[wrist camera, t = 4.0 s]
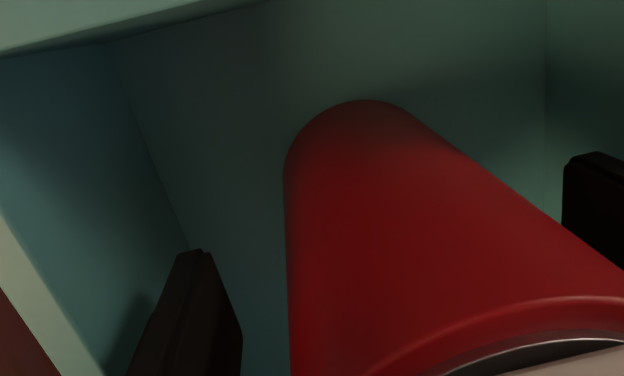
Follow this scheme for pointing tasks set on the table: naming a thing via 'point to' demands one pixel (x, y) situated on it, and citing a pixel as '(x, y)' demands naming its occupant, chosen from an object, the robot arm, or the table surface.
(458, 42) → the cooler
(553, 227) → the soda can
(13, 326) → the table surface
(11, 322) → the table surface
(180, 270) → the robot arm
